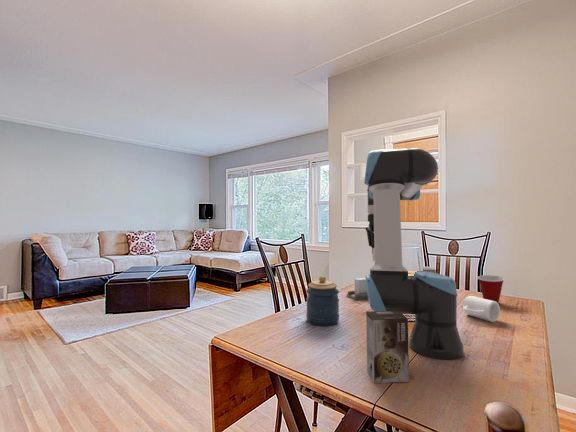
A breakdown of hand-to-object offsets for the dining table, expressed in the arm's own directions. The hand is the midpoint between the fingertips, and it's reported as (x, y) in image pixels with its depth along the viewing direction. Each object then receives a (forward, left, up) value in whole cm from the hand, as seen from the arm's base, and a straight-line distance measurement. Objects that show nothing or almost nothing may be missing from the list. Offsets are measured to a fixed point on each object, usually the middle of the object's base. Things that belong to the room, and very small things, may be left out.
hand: (375, 261), depth 151 cm
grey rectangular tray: (-3, +6, -19) cm, 20 cm away
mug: (+18, -40, -19) cm, 48 cm away
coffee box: (-45, -60, -19) cm, 77 cm away
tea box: (+22, -5, -19) cm, 30 cm away
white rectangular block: (-3, +6, -18) cm, 19 cm away
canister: (-40, -17, -19) cm, 47 cm away
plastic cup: (+45, -27, -19) cm, 56 cm away
